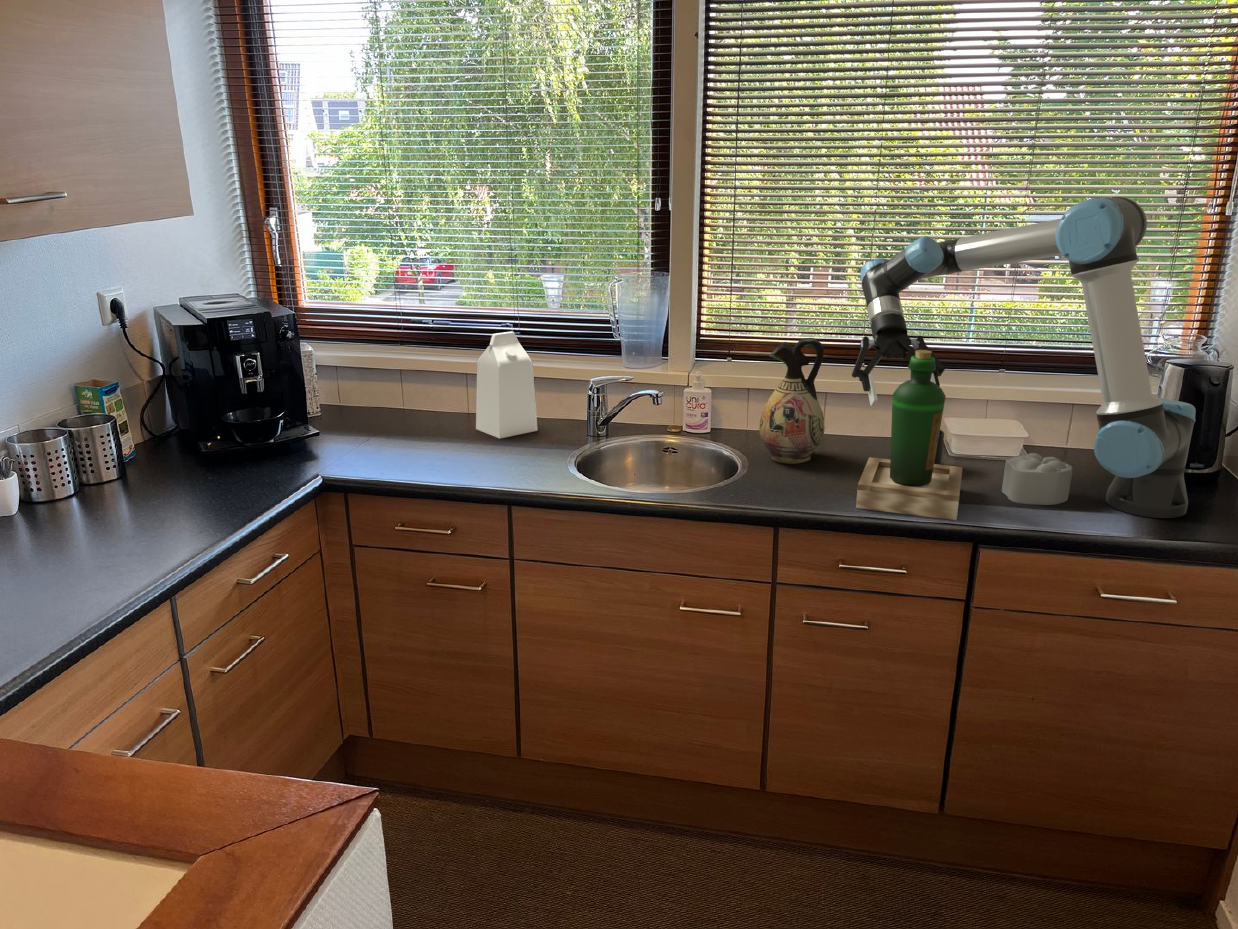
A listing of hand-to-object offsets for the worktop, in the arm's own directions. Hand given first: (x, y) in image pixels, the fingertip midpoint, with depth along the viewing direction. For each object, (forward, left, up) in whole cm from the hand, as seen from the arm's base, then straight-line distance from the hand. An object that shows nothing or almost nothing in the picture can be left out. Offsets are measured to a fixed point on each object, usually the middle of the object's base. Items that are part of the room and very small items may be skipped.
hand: (904, 402), depth 208 cm
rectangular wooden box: (-3, +6, -19) cm, 21 cm away
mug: (-3, -18, -20) cm, 27 cm away
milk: (+102, -11, -20) cm, 104 cm away
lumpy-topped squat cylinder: (-29, -5, -20) cm, 35 cm away
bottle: (-3, +6, -16) cm, 17 cm away
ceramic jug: (+25, -13, -20) cm, 35 cm away
